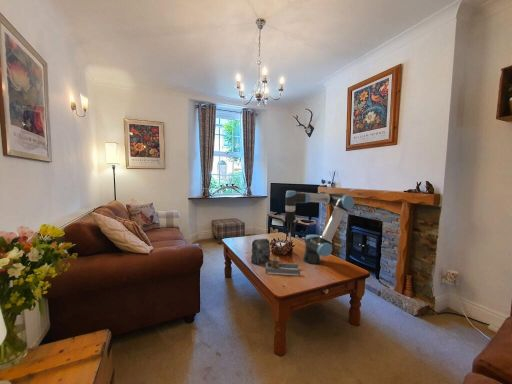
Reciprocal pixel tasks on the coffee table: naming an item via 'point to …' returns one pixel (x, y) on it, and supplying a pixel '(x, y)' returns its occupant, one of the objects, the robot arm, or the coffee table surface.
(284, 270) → the chute
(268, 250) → the stone block
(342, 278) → the coffee table surface
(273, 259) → the walnut block
